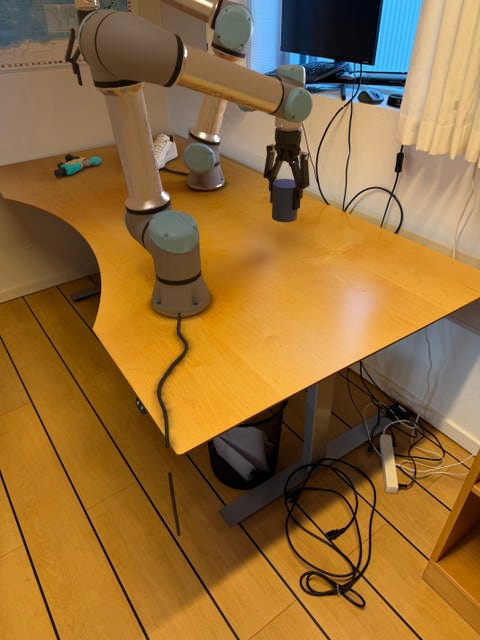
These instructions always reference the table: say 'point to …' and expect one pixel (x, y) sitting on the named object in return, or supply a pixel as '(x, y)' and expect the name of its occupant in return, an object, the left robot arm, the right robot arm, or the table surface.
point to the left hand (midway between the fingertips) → (284, 205)
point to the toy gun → (75, 164)
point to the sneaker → (165, 149)
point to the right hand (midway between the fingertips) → (100, 83)
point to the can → (283, 200)
